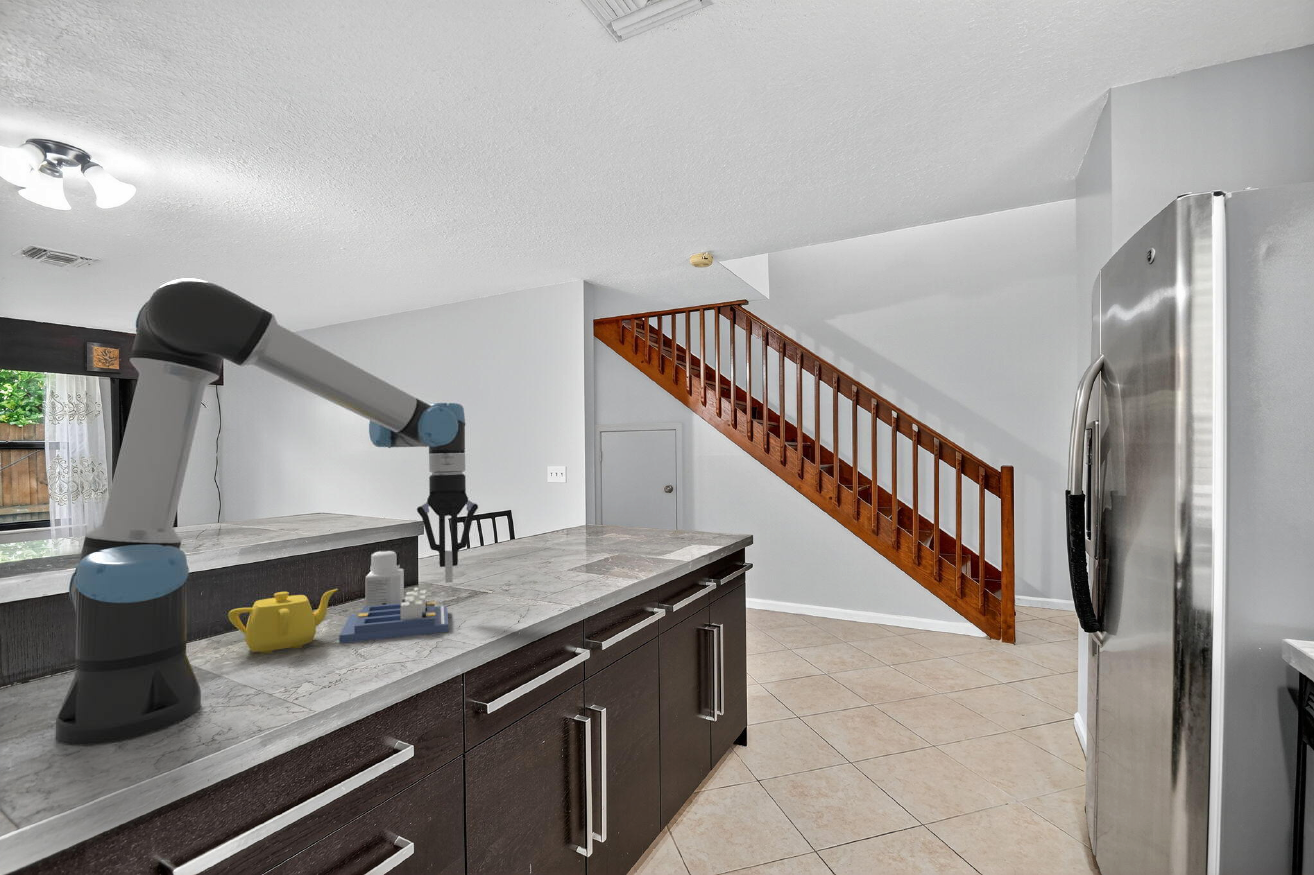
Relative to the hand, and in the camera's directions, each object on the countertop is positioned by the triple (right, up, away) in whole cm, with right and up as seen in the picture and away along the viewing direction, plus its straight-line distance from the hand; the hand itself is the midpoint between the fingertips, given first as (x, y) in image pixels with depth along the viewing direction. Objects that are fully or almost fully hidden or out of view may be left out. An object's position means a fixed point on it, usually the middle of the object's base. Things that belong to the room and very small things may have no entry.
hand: (448, 581), depth 131 cm
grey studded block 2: (-5, -7, -8) cm, 11 cm away
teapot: (-26, -9, -16) cm, 32 cm away
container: (-21, -10, +15) cm, 28 cm away
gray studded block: (-6, -7, -3) cm, 10 cm away
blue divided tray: (-10, -9, -4) cm, 14 cm away
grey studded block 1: (-8, -7, +2) cm, 11 cm away
